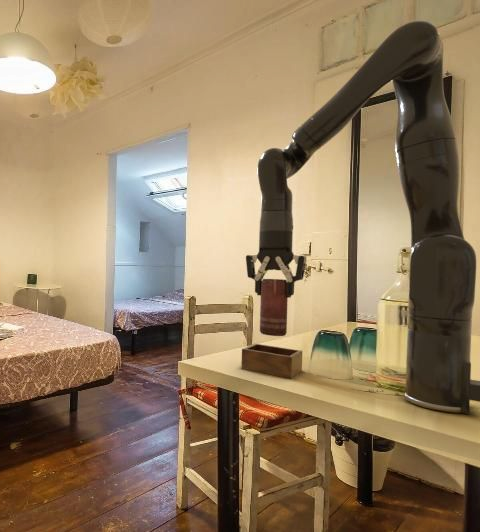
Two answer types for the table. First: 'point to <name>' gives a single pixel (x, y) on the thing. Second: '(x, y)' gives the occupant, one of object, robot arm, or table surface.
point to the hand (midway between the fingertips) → (273, 296)
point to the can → (273, 307)
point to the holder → (272, 360)
